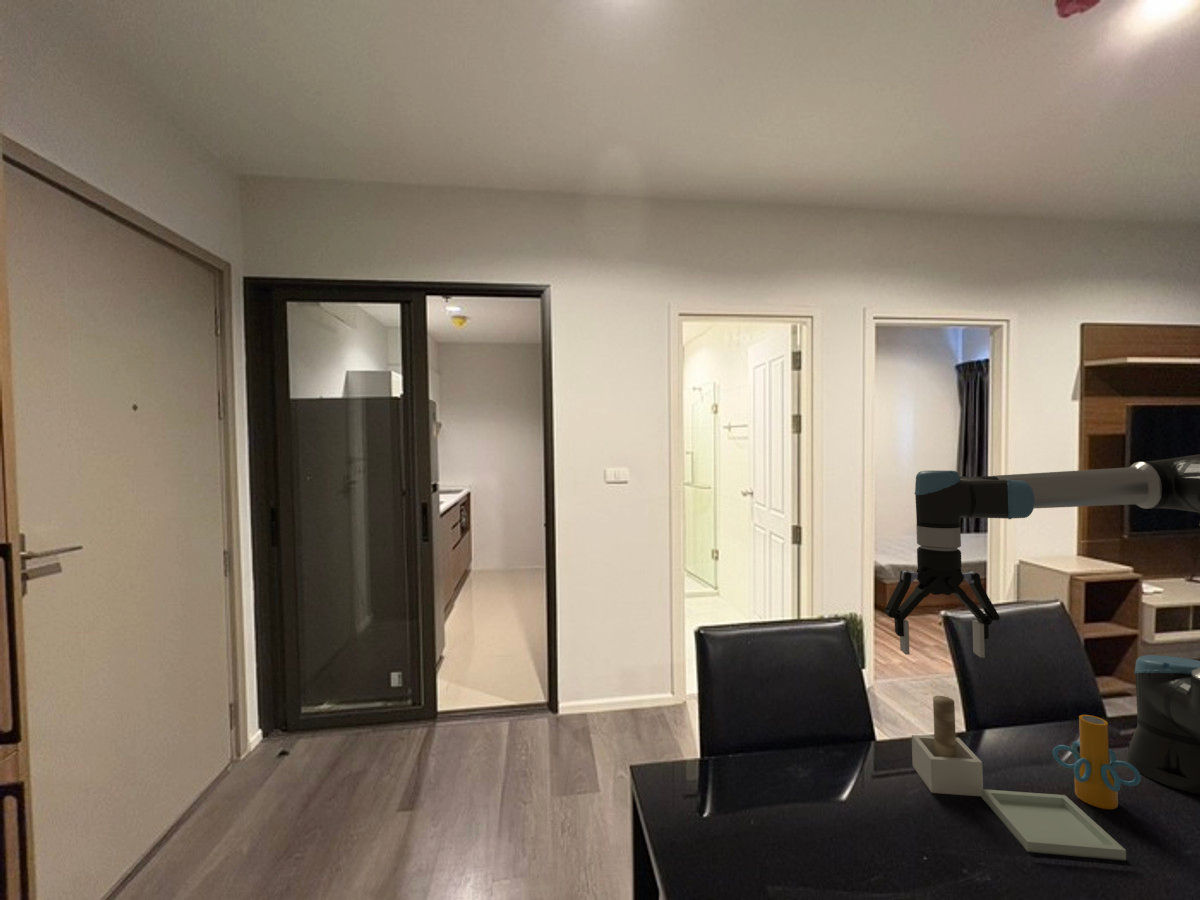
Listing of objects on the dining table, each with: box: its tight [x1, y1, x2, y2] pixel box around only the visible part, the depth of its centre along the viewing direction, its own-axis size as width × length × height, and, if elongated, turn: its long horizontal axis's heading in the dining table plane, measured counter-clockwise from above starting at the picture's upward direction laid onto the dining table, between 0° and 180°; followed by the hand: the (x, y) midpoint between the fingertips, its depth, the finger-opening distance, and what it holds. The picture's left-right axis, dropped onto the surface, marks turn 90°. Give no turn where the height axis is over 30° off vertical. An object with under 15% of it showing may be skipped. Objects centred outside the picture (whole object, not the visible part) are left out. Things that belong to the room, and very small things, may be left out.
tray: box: [981, 788, 1127, 862], centre depth 93 cm, size 14×14×2 cm
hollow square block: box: [911, 734, 984, 797], centre depth 107 cm, size 9×9×7 cm
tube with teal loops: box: [1052, 714, 1142, 810], centre depth 101 cm, size 12×10×15 cm
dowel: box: [932, 695, 957, 758], centre depth 107 cm, size 4×4×16 cm
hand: (941, 653), depth 107 cm, fingers open, 13 cm apart
